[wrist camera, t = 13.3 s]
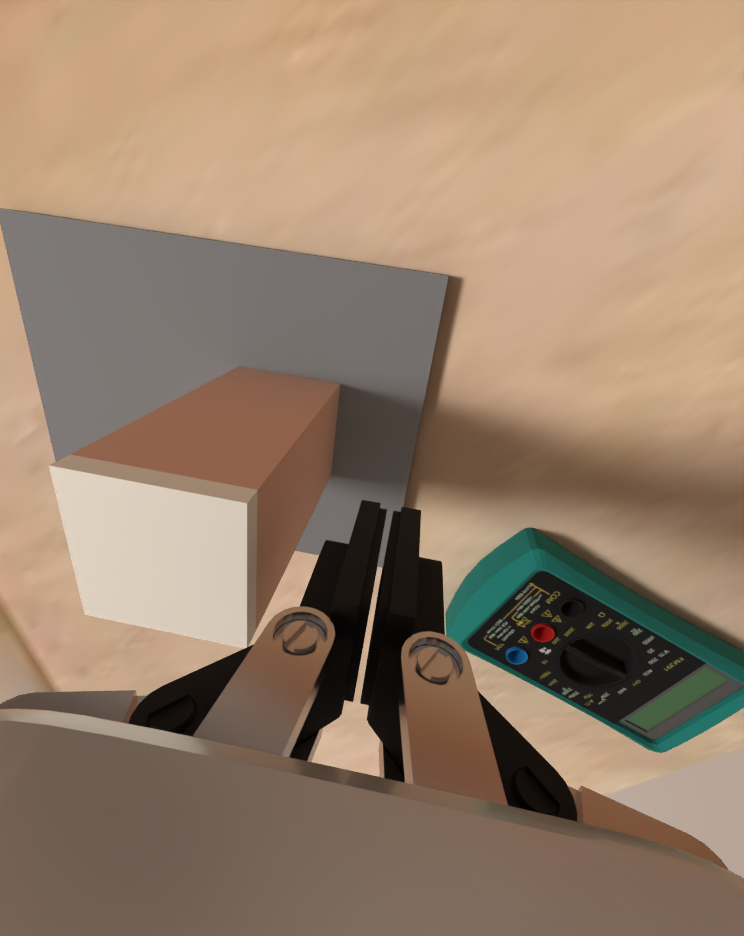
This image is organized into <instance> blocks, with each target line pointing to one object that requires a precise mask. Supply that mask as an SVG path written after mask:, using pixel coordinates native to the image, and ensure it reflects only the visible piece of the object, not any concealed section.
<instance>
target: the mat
mask: <svg viewBox="0 0 744 936" xmlns="http://www.w3.org/2000/svg"><path fill="white" fill-rule="evenodd" d="M0 224H1V228H2V233H3V237H4V241H5V246H6V250H7V254H8V258H9V263H10V267H11V271H12V276H13V280H14V284H15V289H16V293H17V297H18V301H19V306H20V310H21V314H22V319H23V323H24V327H25V331H26V336H27V340H28V344H29V349H30V353H31V357H32V361H33V366H34V370H35V374H36V379H37V383H38V387H39V392H40V396H41V400H42V404H43V409H44V413H45V417H46V422H47V426H48V430H49V434H50V439H51V443H52V447H53V452H54V456H55V460H56V462H57V461H59V460H60V459H62V458H64V457H66V456H68V455H70V454H72V453H74V452H76V451H78V450H80V449H81V448H83V447H85V446H87V445H89V444H91V443H93V442H95V441H97V440H99V439H101V438H103V437H104V436H106V435H108V434H110V433H112V432H114V431H116V430H118V429H120V428H122V427H124V426H125V425H127V424H129V423H131V422H133V421H135V420H137V419H139V418H141V417H143V416H145V415H147V414H148V413H150V412H152V411H154V410H156V409H158V408H160V407H162V406H164V405H166V404H168V403H169V402H171V401H173V400H175V399H177V398H179V397H181V396H183V395H185V394H187V393H189V392H190V391H192V390H194V389H196V388H198V387H200V386H202V385H204V384H206V383H208V382H210V381H212V380H213V379H215V378H217V377H219V376H221V375H223V374H225V373H227V372H229V371H231V370H233V369H234V368H236V367H238V366H240V367H245V368H251V369H257V370H263V371H269V372H275V373H280V374H286V375H292V376H298V377H304V378H310V379H315V380H321V381H327V382H333V383H339V384H340V393H339V403H338V413H337V422H336V432H335V441H334V451H333V461H332V470H331V477H330V479H329V481H328V483H327V485H326V487H325V489H324V491H323V493H322V496H321V498H320V500H319V502H318V504H317V506H316V508H315V510H314V512H313V514H312V516H311V518H310V520H309V522H308V524H307V526H306V528H305V531H304V533H303V535H302V537H301V539H300V541H299V543H298V545H297V547H296V549H295V551H300V552H306V553H311V554H316V555H320V552H321V550H322V547H323V545H324V542H325V541H326V540H330V541H336V542H341V543H346V544H349V541H350V538H351V535H352V531H353V528H354V524H355V521H356V518H357V514H358V511H359V508H360V504H361V501H362V500H367V501H373V502H378V503H381V505H380V508H383V509H387V514H386V519H385V525H384V531H383V536H382V542H381V548H380V553H379V559H378V565H377V566H378V567H383V564H384V558H385V553H386V547H387V542H388V537H389V531H390V526H391V520H392V515H393V511H399V512H401V508H402V507H403V506H404V501H405V496H406V491H407V486H408V481H409V476H410V471H411V466H412V461H413V455H414V450H415V445H416V440H417V435H418V430H419V425H420V420H421V415H422V410H423V405H424V400H425V394H426V389H427V384H428V379H429V374H430V369H431V364H432V359H433V354H434V349H435V344H436V338H437V333H438V328H439V323H440V318H441V313H442V308H443V303H444V298H445V293H446V288H447V282H448V277H449V276H448V275H442V274H436V273H429V272H422V271H416V270H409V269H402V268H396V267H389V266H382V265H376V264H369V263H362V262H356V261H349V260H342V259H336V258H329V257H322V256H316V255H309V254H302V253H296V252H289V251H283V250H276V249H269V248H263V247H256V246H249V245H243V244H236V243H229V242H223V241H216V240H209V239H203V238H196V237H189V236H183V235H176V234H169V233H163V232H156V231H150V230H143V229H136V228H130V227H123V226H116V225H110V224H103V223H96V222H90V221H83V220H76V219H70V218H63V217H56V216H50V215H43V214H36V213H30V212H23V211H17V210H10V209H2V208H0Z"/></svg>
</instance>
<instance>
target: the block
mask: <svg viewBox="0 0 744 936" xmlns="http://www.w3.org/2000/svg"><path fill="white" fill-rule="evenodd" d="M339 393H340V384H339V383H333V382H327V381H321V380H315V379H310V378H304V377H298V376H292V375H286V374H280V373H275V372H269V371H263V370H257V369H251V368H245V367H240V366H238V367H236V368H234V369H233V370H231V371H229V372H227V373H225V374H223V375H221V376H219V377H217V378H215V379H213V380H212V381H210V382H208V383H206V384H204V385H202V386H200V387H198V388H196V389H194V390H192V391H190V392H189V393H187V394H185V395H183V396H181V397H179V398H177V399H175V400H173V401H171V402H169V403H168V404H166V405H164V406H162V407H160V408H158V409H156V410H154V411H152V412H150V413H148V414H147V415H145V416H143V417H141V418H139V419H137V420H135V421H133V422H131V423H129V424H127V425H125V426H124V427H122V428H120V429H118V430H116V431H114V432H112V433H110V434H108V435H106V436H104V437H103V438H101V439H99V440H97V441H95V442H93V443H91V444H89V445H87V446H85V447H83V448H81V449H80V450H78V451H76V452H74V453H72V454H70V455H68V456H66V457H64V458H62V459H60V460H59V461H57V462H55V463H53V464H51V465H49V468H50V472H51V476H52V480H53V484H54V489H55V493H56V497H57V501H58V505H59V510H60V514H61V518H62V522H63V526H64V530H65V535H66V539H67V543H68V547H69V551H70V556H71V560H72V564H73V568H74V572H75V576H76V581H77V585H78V589H79V593H80V597H81V601H82V606H83V610H84V614H85V615H89V616H94V617H99V618H103V619H108V620H113V621H118V622H122V623H127V624H132V625H136V626H141V627H146V628H151V629H155V630H160V631H165V632H169V633H174V634H179V635H184V636H188V637H193V638H198V639H202V640H207V641H212V642H217V643H221V644H226V645H231V646H235V647H240V648H247V647H248V646H249V644H250V642H251V640H252V638H253V635H254V633H255V631H256V629H257V627H258V625H259V623H260V621H261V619H262V617H263V615H264V613H265V611H266V609H267V607H268V605H269V603H270V600H271V598H272V596H273V594H274V592H275V590H276V588H277V586H278V584H279V582H280V580H281V578H282V576H283V574H284V572H285V570H286V568H287V565H288V563H289V561H290V559H291V557H292V555H293V553H294V551H295V549H296V547H297V545H298V543H299V541H300V539H301V537H302V535H303V533H304V531H305V528H306V526H307V524H308V522H309V520H310V518H311V516H312V514H313V512H314V510H315V508H316V506H317V504H318V502H319V500H320V498H321V496H322V493H323V491H324V489H325V487H326V485H327V483H328V481H329V479H330V477H331V470H332V461H333V451H334V441H335V432H336V422H337V413H338V403H339Z"/></svg>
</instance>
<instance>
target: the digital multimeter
mask: <svg viewBox="0 0 744 936" xmlns="http://www.w3.org/2000/svg"><path fill="white" fill-rule="evenodd" d="M550 573H551V574H550ZM552 574H553V575H552ZM557 577H558V578H557ZM573 586H574V587H573ZM576 588H577V589H576ZM578 589H579V590H578ZM580 590H581V591H580ZM583 592H584V593H583ZM585 593H586V594H585ZM587 594H588V595H587ZM590 596H591V597H590ZM592 597H593V598H592ZM595 599H596V600H595ZM597 600H598V601H597ZM599 601H600V602H599ZM602 603H603V604H602ZM604 604H605V605H604ZM606 605H607V606H606ZM609 607H610V608H609ZM611 608H612V609H611ZM613 609H614V610H613ZM616 611H617V612H616ZM618 612H619V613H618ZM620 613H621V614H620ZM623 615H624V616H623ZM625 616H626V617H625ZM628 618H629V619H628ZM630 619H631V620H630ZM632 620H633V621H632ZM635 622H636V623H635ZM637 623H638V624H637ZM639 624H640V625H639ZM642 626H643V627H642ZM644 627H645V628H644ZM646 628H647V629H646ZM649 630H650V631H649ZM651 631H652V632H651ZM653 632H654V633H655V634H654V633H653ZM656 634H657V635H656ZM658 635H659V636H658ZM446 636H447V637H450V638H451V639H453V640H454V641H455V642H457V643H458V644H459V645H460V646H461V647H462V649H463V650H465V651H467V652H469V653H471V654H473V655H475V656H477V657H479V658H481V659H483V660H485V661H487V662H489V663H491V664H493V665H495V666H497V667H499V668H501V669H503V670H505V671H507V672H509V673H511V674H513V675H515V676H517V677H519V678H520V679H522V680H524V681H526V682H528V683H530V684H532V685H534V686H536V687H538V688H540V689H542V690H544V691H546V692H547V693H549V694H551V695H553V696H555V697H557V698H559V699H560V700H562V701H564V702H566V703H568V704H570V705H571V706H573V707H575V708H577V709H579V710H581V711H583V712H584V713H586V714H588V715H590V716H592V717H594V718H595V719H597V720H599V721H601V722H603V723H604V724H606V725H608V726H609V727H611V728H613V729H614V730H616V731H618V732H619V733H621V734H623V735H625V736H626V737H628V738H630V739H631V740H633V741H635V742H636V743H638V744H640V745H641V746H643V747H645V748H646V749H648V750H651V751H655V752H660V753H662V752H666V751H668V750H670V749H672V748H674V747H676V746H678V745H680V744H682V743H684V742H686V741H688V740H690V739H691V738H693V737H695V736H697V735H699V734H701V733H703V732H704V731H706V730H708V729H709V728H711V727H713V726H715V725H716V724H718V723H720V722H721V721H723V720H725V719H726V718H728V717H729V716H731V715H732V714H734V713H736V712H737V711H739V710H740V709H742V708H743V707H744V652H743V651H741V650H740V649H738V648H736V647H734V646H732V645H730V644H728V643H726V642H724V641H722V640H720V639H718V638H716V637H714V636H713V635H711V634H709V633H707V632H705V631H703V630H701V629H699V628H697V627H695V626H693V625H691V624H689V623H688V622H686V621H684V620H682V619H680V618H678V617H676V616H675V615H673V614H671V613H669V612H668V611H666V610H664V609H662V608H661V607H659V606H657V605H655V604H654V603H652V602H650V601H648V600H646V599H645V598H643V597H641V596H639V595H638V594H636V593H634V592H632V591H631V590H629V589H627V588H626V587H624V586H623V585H621V584H619V583H618V582H616V581H615V580H613V579H611V578H610V577H608V576H607V575H605V574H603V573H602V572H600V571H599V570H597V569H596V568H594V567H592V566H591V565H589V564H588V563H586V562H584V561H583V560H581V559H580V558H578V557H576V556H575V555H573V554H572V553H570V552H569V551H567V550H566V549H564V548H563V547H561V546H560V545H558V544H557V543H555V542H554V541H552V540H551V539H549V538H548V537H546V536H545V535H543V534H542V533H540V532H539V531H537V530H536V529H532V528H527V529H524V530H522V531H521V532H519V533H518V534H516V535H515V536H513V537H512V538H510V539H509V540H507V541H506V542H504V543H503V544H501V545H500V546H499V547H497V548H496V549H495V550H493V551H492V552H491V553H490V554H488V555H487V556H486V557H485V558H483V559H482V560H481V561H480V562H479V563H478V564H477V565H476V566H475V567H474V569H473V570H472V571H471V572H470V573H469V574H468V575H467V576H466V578H465V579H464V581H463V582H462V584H461V585H460V587H459V589H458V590H457V592H456V593H455V595H454V597H453V599H452V601H451V603H450V605H449V607H448V609H447V611H446ZM661 637H662V638H661ZM663 638H664V639H663ZM665 639H666V640H665ZM668 641H669V642H668ZM670 642H671V643H670ZM672 643H673V644H672ZM675 645H676V646H675ZM677 646H678V647H677ZM679 647H680V648H681V649H680V648H679ZM636 648H637V649H636ZM682 649H683V650H682ZM684 650H685V651H684ZM638 652H639V653H638ZM687 652H688V653H687ZM689 653H690V654H689ZM691 654H692V655H691ZM557 655H558V656H557ZM694 656H695V657H694ZM696 657H697V658H696ZM556 659H557V660H556ZM638 665H639V666H638ZM557 669H558V670H557ZM636 669H637V670H636ZM634 672H635V673H634ZM633 673H634V674H633ZM632 674H633V675H632ZM629 677H630V678H629ZM626 679H627V680H626ZM623 681H624V682H623ZM621 682H622V683H621ZM616 684H617V685H616ZM613 685H614V686H613ZM609 686H610V687H609ZM604 687H606V688H604Z"/></svg>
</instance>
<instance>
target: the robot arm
mask: <svg viewBox="0 0 744 936" xmlns="http://www.w3.org/2000/svg"><path fill="white" fill-rule="evenodd" d="M380 505H381V503H378V502H373V501H367V500H362V501H361V504H360V508H359V511H358V514H357V518H356V521H355V524H354V528H353V531H352V535H351V538H350V541H349V544H346V543H341V542H336V541H330V540H326V541H325V542H324V545H323V547H322V550H321V552H320V555H319V558H318V560H317V563H316V565H315V568H314V571H313V573H312V576H311V578H310V581H309V584H308V586H307V589H306V591H305V594H304V597H303V599H302V602H301V604H300V607H292V608H289V609H285V610H283V611H281V612H280V613H278V614H276V615H275V616H274V617H273V618H272V619H271V621H270V622H269V623H268V624H267V626H266V627H265V629H264V630H263V632H262V633H261V635H260V636H259V638H258V639H257V641H256V642H255V644H254V645H252V646H249V647H247V648H245V649H243V650H241V651H238V652H236V653H234V654H232V655H230V656H227V657H225V658H223V659H221V660H219V661H216V662H214V663H212V664H210V665H208V666H205V667H203V668H201V669H199V670H197V671H194V672H192V673H190V674H188V675H186V676H184V677H181V678H179V679H177V680H175V681H173V682H170V683H168V684H166V685H164V686H162V687H160V688H158V689H157V690H155V691H153V692H152V693H150V694H149V695H148V696H137V694H136V690H131V691H81V692H35V693H29V694H23V695H19V696H16V697H14V698H12V699H9V700H7V701H5V702H3V703H2V704H0V936H744V878H742V877H741V876H739V875H737V874H735V873H733V872H731V871H729V870H728V868H727V867H726V866H725V864H724V863H723V862H722V860H721V859H720V858H719V857H718V856H717V855H716V854H715V853H714V852H713V851H712V850H710V848H708V847H707V846H706V845H705V844H704V843H702V842H701V841H699V840H697V839H696V838H694V837H693V836H691V835H689V834H687V833H685V832H683V831H681V830H679V829H676V828H674V827H672V826H670V825H667V824H665V823H663V822H661V821H659V820H656V819H654V818H652V817H650V816H647V815H645V814H643V813H641V812H639V811H636V810H634V809H632V808H630V807H627V806H625V805H623V804H621V803H619V802H616V801H614V800H612V799H610V798H607V797H605V796H603V795H601V794H599V793H597V792H594V791H592V790H590V789H588V788H585V787H583V786H580V788H579V790H576V789H574V788H571V787H569V786H567V784H566V782H565V781H564V780H563V778H562V777H561V776H560V775H559V774H558V772H557V771H556V770H555V769H554V768H553V767H552V766H551V765H550V764H549V763H548V762H547V761H546V760H545V759H544V758H543V757H542V756H541V755H540V754H539V753H538V752H537V751H536V749H535V748H534V747H533V746H532V745H531V744H530V743H529V742H528V741H527V740H526V739H525V738H524V737H523V736H522V735H521V734H520V733H519V732H518V731H517V730H516V729H515V728H514V727H513V726H512V725H511V724H510V723H509V722H508V721H507V720H506V719H505V718H504V717H503V716H502V715H501V714H500V713H499V712H498V711H497V710H496V709H495V708H494V707H493V706H492V705H491V704H490V703H489V702H488V701H487V700H486V699H485V698H484V697H483V696H482V695H481V694H480V693H479V692H478V690H477V687H476V683H475V679H474V675H473V671H472V668H471V664H470V661H469V659H468V656H467V654H466V652H465V651H464V650H463V649H462V647H461V646H460V645H459V644H458V643H457V642H455V641H454V640H453V639H451V638H450V637H447V636H445V630H444V602H443V574H442V562H441V561H437V560H431V559H426V558H421V557H419V544H420V520H421V510H416V509H411V508H405V507H402V508H401V512H399V511H393V515H392V520H391V526H390V531H389V537H388V542H387V547H386V553H385V558H384V564H383V569H382V574H381V580H380V585H379V591H378V597H377V603H376V609H375V615H374V622H373V628H372V634H371V640H370V646H369V653H368V659H367V665H366V671H365V677H364V683H363V690H362V696H361V702H360V703H361V704H366V705H369V709H368V716H367V721H368V723H369V725H370V726H371V727H372V729H373V730H374V732H375V733H376V734H377V736H378V737H379V739H380V744H379V769H380V777H377V776H372V775H367V774H363V773H358V772H354V771H349V770H345V769H340V768H335V767H331V766H326V765H322V764H317V763H312V762H311V761H312V759H313V756H314V753H315V751H316V748H317V746H318V743H319V741H320V738H321V734H322V730H323V727H325V726H326V725H328V724H329V723H331V722H333V721H334V720H336V719H337V718H339V717H340V715H341V714H342V709H343V704H344V700H347V701H351V702H353V699H354V693H355V688H356V682H357V677H358V671H359V665H360V660H361V654H362V649H363V643H364V638H365V632H366V626H367V621H368V615H369V610H370V604H371V598H372V593H373V587H374V582H375V576H376V570H377V565H378V559H379V553H380V548H381V542H382V536H383V531H384V525H385V519H386V514H387V509H383V508H380Z"/></svg>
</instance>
